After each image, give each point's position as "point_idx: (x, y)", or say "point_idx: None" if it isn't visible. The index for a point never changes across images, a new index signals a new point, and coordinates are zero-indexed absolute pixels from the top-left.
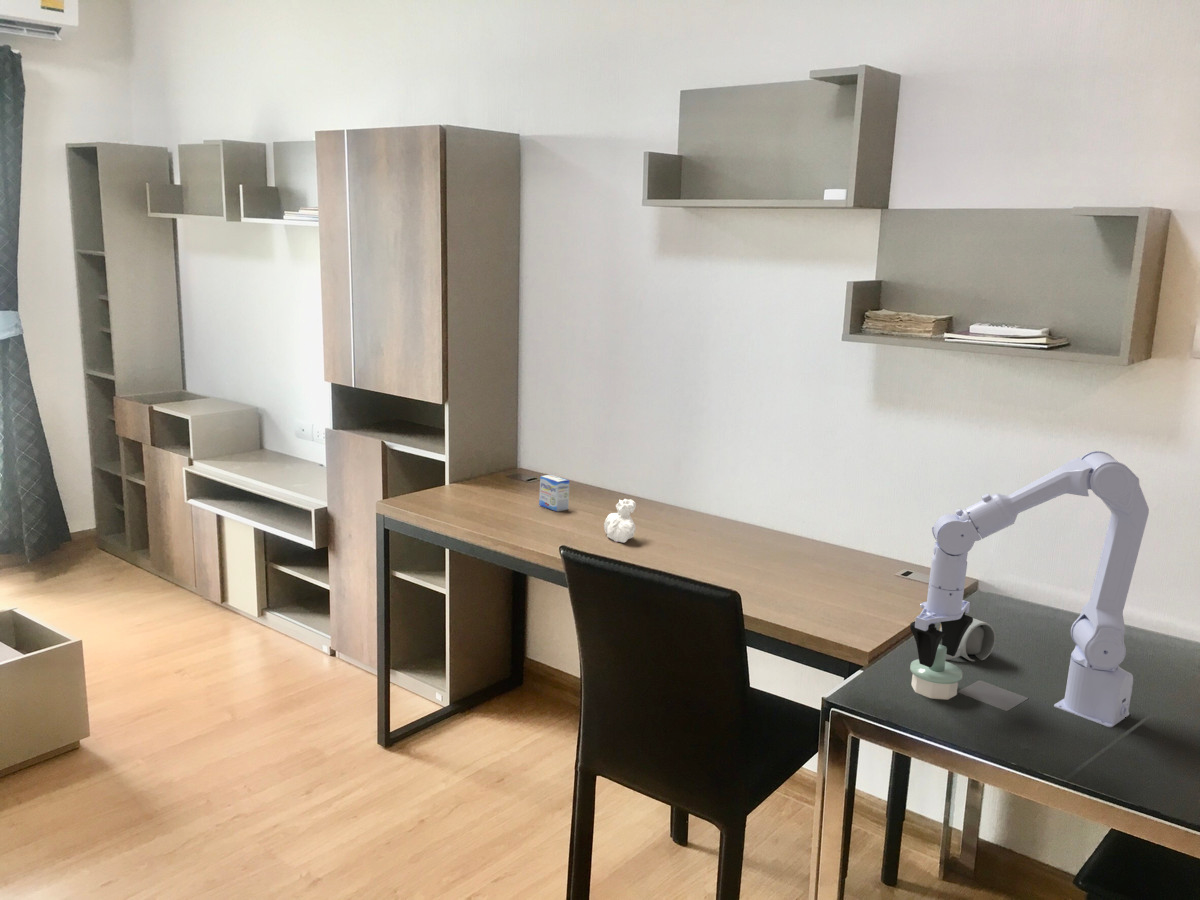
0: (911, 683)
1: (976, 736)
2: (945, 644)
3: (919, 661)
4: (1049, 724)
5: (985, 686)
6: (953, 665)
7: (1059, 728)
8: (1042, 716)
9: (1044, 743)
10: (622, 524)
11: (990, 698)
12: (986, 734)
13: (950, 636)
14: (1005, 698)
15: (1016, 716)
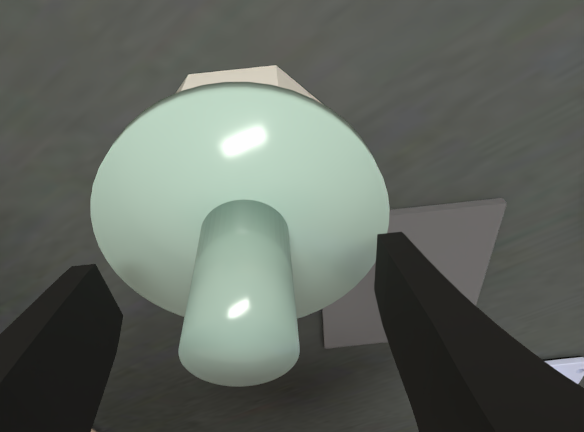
0: (186, 79)
1: (123, 371)
2: (398, 291)
3: (59, 278)
4: (358, 395)
5: (457, 243)
6: (370, 249)
7: (357, 407)
8: (389, 375)
9: (256, 423)
10: None
11: (369, 296)
12: (160, 374)
13: (423, 380)
14: None
15: (331, 356)
